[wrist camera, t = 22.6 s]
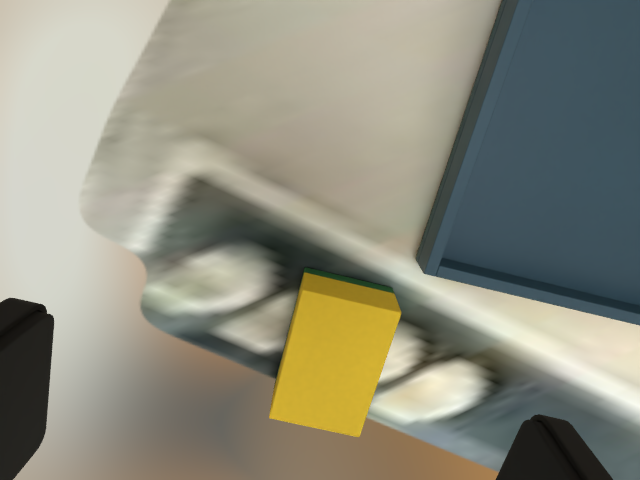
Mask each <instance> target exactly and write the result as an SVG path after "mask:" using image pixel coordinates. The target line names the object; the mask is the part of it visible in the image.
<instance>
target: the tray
mask: <svg viewBox="0 0 640 480" xmlns="http://www.w3.org/2000/svg"><path fill="white" fill-rule="evenodd" d="M416 261H417V263H418V264H419V266H420V268H421V269H422V271H423V273H424V274H427V275H431V276H436V277H440V278H444V279H449V280H453V281H457V282H461V283H465V284H469V285H474V286H478V287H482V288H486V289H490V290H494V291H499V292H503V293H507V294H511V295H515V296H519V297H524V298H528V299H532V300H536V301H540V302H544V303H549V304H553V305H557V306H561V307H565V308H570V309H574V310H578V311H582V312H586V313H590V314H595V315H599V316H603V317H607V318H611V319H615V320H620V321H624V322H628V323H632V324H636V325H640V0H502V3H501V6H500V9H499V12H498V15H497V18H496V21H495V24H494V27H493V30H492V33H491V36H490V39H489V42H488V44H487V47H486V50H485V53H484V56H483V59H482V62H481V65H480V68H479V71H478V74H477V77H476V80H475V83H474V86H473V89H472V92H471V95H470V98H469V101H468V104H467V107H466V110H465V113H464V116H463V119H462V122H461V125H460V128H459V131H458V134H457V137H456V140H455V143H454V146H453V149H452V152H451V155H450V158H449V160H448V163H447V166H446V169H445V172H444V175H443V178H442V181H441V184H440V187H439V190H438V193H437V196H436V199H435V202H434V205H433V208H432V211H431V214H430V217H429V220H428V223H427V226H426V229H425V232H424V235H423V238H422V241H421V244H420V247H419V250H418V253H417V256H416Z"/></svg>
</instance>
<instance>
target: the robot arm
mask: <svg viewBox="0 0 640 480" xmlns="http://www.w3.org/2000/svg"><path fill="white" fill-rule="evenodd" d="M53 330H54V318H53V316H52V315H51V314H47V310H46V307H45V306H44V305H42V304H38V303H33V302H29V301H24V300H20V299H15V298H8V299H6V300H4V301H2V302H0V480H13V479H14V478H15V477H16V475H17V474H18V473H19V472H20V470H21V469H22V468H23V467H24V466H25V464H26V463H27V462H28V461H29V459H30V458H31V457H32V456H33V454H34V453H35V452H36V451H37V449H38V448H39V446H40V444H41V442H42V440H43V438H44V435H45V430H46V421H47V408H48V395H49V382H50V369H51V356H52V343H53ZM496 480H613V479H612V477H611V476H610V475H609V474H608V472H607V471H606V470H605V468H604V467H603V466H602V464H601V463H600V462H599V460H598V459H597V458H596V456H595V455H594V454H593V453H592V451H591V450H590V449H589V447H588V446H587V445H586V443H585V442H584V441H583V439H582V438H581V437H580V435H579V434H578V433H577V432H576V430H575V429H574V428H573V426H572V425H571V424H570V423H569V422H568V421H565V420H562V419H557V418H553V417H548V416H544V415H534V416H533V417H532V418H531V419H530V420H526V421H524V422H523V423H522V425H521V427H520V429H519V431H518V433H517V435H516V438H515V440H514V442H513V444H512V446H511V448H510V450H509V453H508V455H507V457H506V459H505V461H504V463H503V465H502V467H501V470H500V472H499V474H498V476H497V478H496Z"/></svg>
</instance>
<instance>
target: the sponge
mask: <svg viewBox="0 0 640 480" xmlns="http://www.w3.org/2000/svg"><path fill="white" fill-rule="evenodd" d="M400 316H401V311H400V308H399V305H398V302H397V300H396V297H395V294H394V291H393V288H391V287H387V286H383V285H379V284H374V283H370V282H366V281H362V280H358V279H353V278H349V277H345V276H341V275H336V274H332V273H328V272H324V271H320V270H315V269H311V268H307V267H305V268H304V272H303V276H302V280H301V284H300V288H299V291H298V295H297V299H296V303H295V307H294V311H293V315H292V319H291V323H290V326H289V330H288V334H287V338H286V342H285V346H284V350H283V354H282V358H281V361H280V365H279V369H278V373H277V377H276V381H275V386H274V391H273V397H272V403H271V409H270V415H269V418H271V419H276V420H280V421H285V422H290V423H294V424H299V425H304V426H308V427H313V428H318V429H323V430H328V431H332V432H337V433H342V434H347V435H351V436H356V437H359V436H360V434H361V430H362V428H363V425H364V422H365V419H366V416H367V413H368V410H369V407H370V404H371V401H372V398H373V395H374V392H375V389H376V386H377V384H378V381H379V378H380V375H381V372H382V369H383V366H384V363H385V360H386V357H387V354H388V351H389V348H390V345H391V342H392V339H393V336H394V333H395V330H396V328H397V325H398V322H399V319H400Z"/></svg>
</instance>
